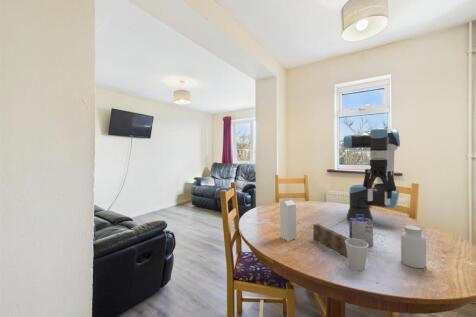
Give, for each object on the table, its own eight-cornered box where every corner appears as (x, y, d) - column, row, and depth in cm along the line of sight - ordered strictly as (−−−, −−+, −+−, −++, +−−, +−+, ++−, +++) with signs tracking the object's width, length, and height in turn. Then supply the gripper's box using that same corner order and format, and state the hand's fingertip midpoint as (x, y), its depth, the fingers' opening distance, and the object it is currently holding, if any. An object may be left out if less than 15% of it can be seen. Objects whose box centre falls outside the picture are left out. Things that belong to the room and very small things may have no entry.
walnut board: (313, 239, 114) (313, 224, 114) (317, 238, 115) (317, 223, 114) (347, 258, 93) (346, 240, 93) (351, 257, 94) (351, 239, 94)
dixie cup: (359, 260, 91) (358, 237, 91) (373, 271, 83) (373, 246, 82) (340, 262, 90) (340, 238, 90) (353, 273, 82) (353, 247, 81)
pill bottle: (396, 259, 91) (396, 224, 91) (413, 258, 92) (413, 223, 92) (412, 269, 84) (413, 231, 83) (431, 268, 84) (432, 230, 84)
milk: (296, 239, 115) (296, 198, 114) (287, 241, 112) (287, 199, 111) (288, 235, 120) (288, 196, 119) (280, 237, 117) (279, 197, 116)
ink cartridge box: (369, 241, 109) (369, 213, 109) (374, 246, 104) (374, 217, 103) (348, 240, 111) (348, 212, 111) (351, 245, 106) (351, 216, 105)
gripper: (355, 158, 119) (355, 199, 120) (394, 160, 99) (394, 208, 100) (365, 158, 121) (365, 197, 122) (405, 159, 101) (405, 206, 102)
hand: (378, 202), depth 111 cm, fingers open, 9 cm apart
